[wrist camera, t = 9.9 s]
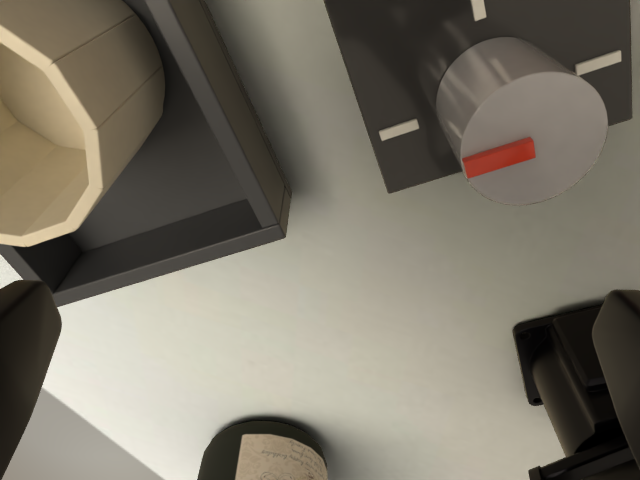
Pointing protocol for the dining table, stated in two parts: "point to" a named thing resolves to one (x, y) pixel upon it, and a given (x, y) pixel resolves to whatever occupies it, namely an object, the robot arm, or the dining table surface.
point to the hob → (446, 46)
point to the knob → (519, 121)
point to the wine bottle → (263, 454)
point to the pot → (70, 109)
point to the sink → (174, 175)
